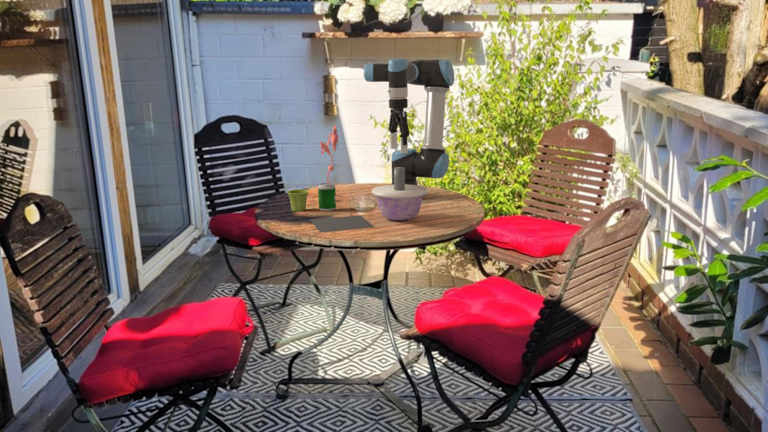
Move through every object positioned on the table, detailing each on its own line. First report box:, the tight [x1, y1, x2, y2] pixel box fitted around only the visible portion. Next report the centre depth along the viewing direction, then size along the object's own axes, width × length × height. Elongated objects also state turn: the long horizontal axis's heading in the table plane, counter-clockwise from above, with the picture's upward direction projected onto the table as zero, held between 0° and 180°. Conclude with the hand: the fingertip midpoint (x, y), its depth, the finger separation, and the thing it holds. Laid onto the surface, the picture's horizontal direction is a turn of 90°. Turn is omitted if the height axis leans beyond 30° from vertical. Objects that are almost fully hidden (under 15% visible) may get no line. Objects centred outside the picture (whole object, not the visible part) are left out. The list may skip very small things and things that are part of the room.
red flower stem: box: [319, 124, 348, 196], centre depth 336 cm, size 15×26×35 cm, turn 179°
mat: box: [309, 214, 375, 233], centre depth 290 cm, size 22×22×1 cm
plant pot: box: [286, 189, 309, 213], centre depth 315 cm, size 9×9×9 cm
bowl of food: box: [375, 195, 424, 222], centre depth 295 cm, size 20×20×12 cm
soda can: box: [317, 182, 337, 212], centre depth 313 cm, size 8×8×12 cm
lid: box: [371, 167, 429, 198], centre depth 293 cm, size 23×23×10 cm
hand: (399, 151), depth 290 cm, fingers open, 13 cm apart
